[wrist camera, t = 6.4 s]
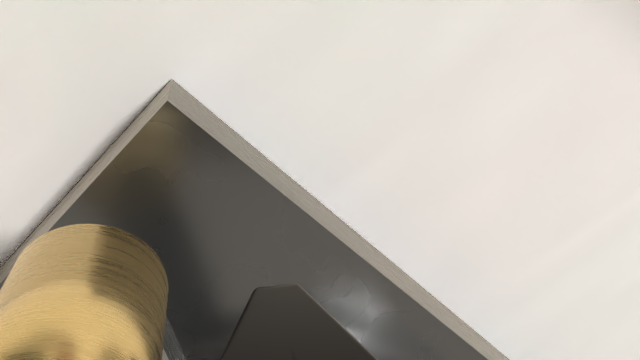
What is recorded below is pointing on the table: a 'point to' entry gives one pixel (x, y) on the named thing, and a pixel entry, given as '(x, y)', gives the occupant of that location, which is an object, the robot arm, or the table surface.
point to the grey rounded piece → (87, 299)
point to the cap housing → (247, 238)
